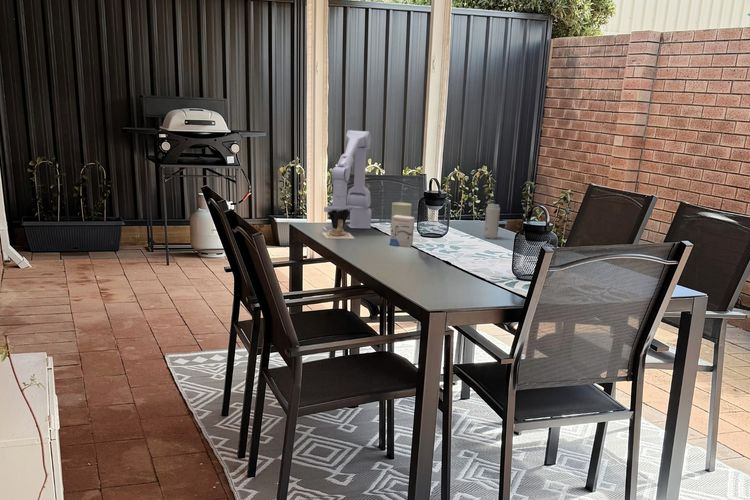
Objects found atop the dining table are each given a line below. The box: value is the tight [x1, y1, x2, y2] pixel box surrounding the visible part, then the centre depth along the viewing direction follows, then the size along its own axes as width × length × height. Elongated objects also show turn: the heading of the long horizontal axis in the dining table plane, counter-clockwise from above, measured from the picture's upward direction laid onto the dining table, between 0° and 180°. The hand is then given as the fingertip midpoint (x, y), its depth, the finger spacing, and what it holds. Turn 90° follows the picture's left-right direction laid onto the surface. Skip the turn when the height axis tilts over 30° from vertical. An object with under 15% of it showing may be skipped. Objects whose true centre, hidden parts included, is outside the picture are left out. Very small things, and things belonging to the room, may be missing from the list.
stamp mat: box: [321, 231, 356, 240], centre depth 284 cm, size 12×12×1 cm
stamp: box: [329, 219, 347, 237], centre depth 283 cm, size 5×5×7 cm
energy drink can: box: [483, 203, 501, 240], centre depth 299 cm, size 6×6×15 cm
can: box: [390, 201, 413, 229], centre depth 311 cm, size 9×9×12 cm
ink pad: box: [322, 226, 344, 232], centre depth 296 cm, size 8×8×1 cm
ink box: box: [389, 215, 415, 248], centre depth 271 cm, size 9×5×12 cm, turn 73°
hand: (338, 228), depth 283 cm, fingers closed on stamp, 3 cm apart
